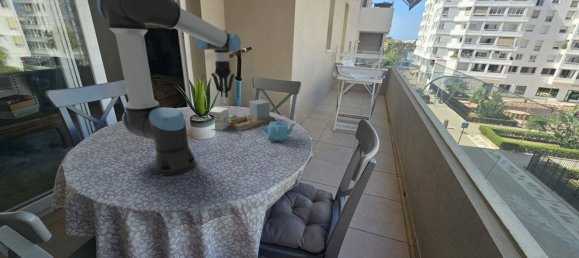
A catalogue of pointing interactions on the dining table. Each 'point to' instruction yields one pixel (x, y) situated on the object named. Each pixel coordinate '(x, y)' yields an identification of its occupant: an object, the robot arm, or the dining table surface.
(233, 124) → the pallet
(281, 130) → the teapot
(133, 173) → the dining table surface
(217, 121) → the white labeled carton
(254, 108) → the block
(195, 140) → the dining table surface
